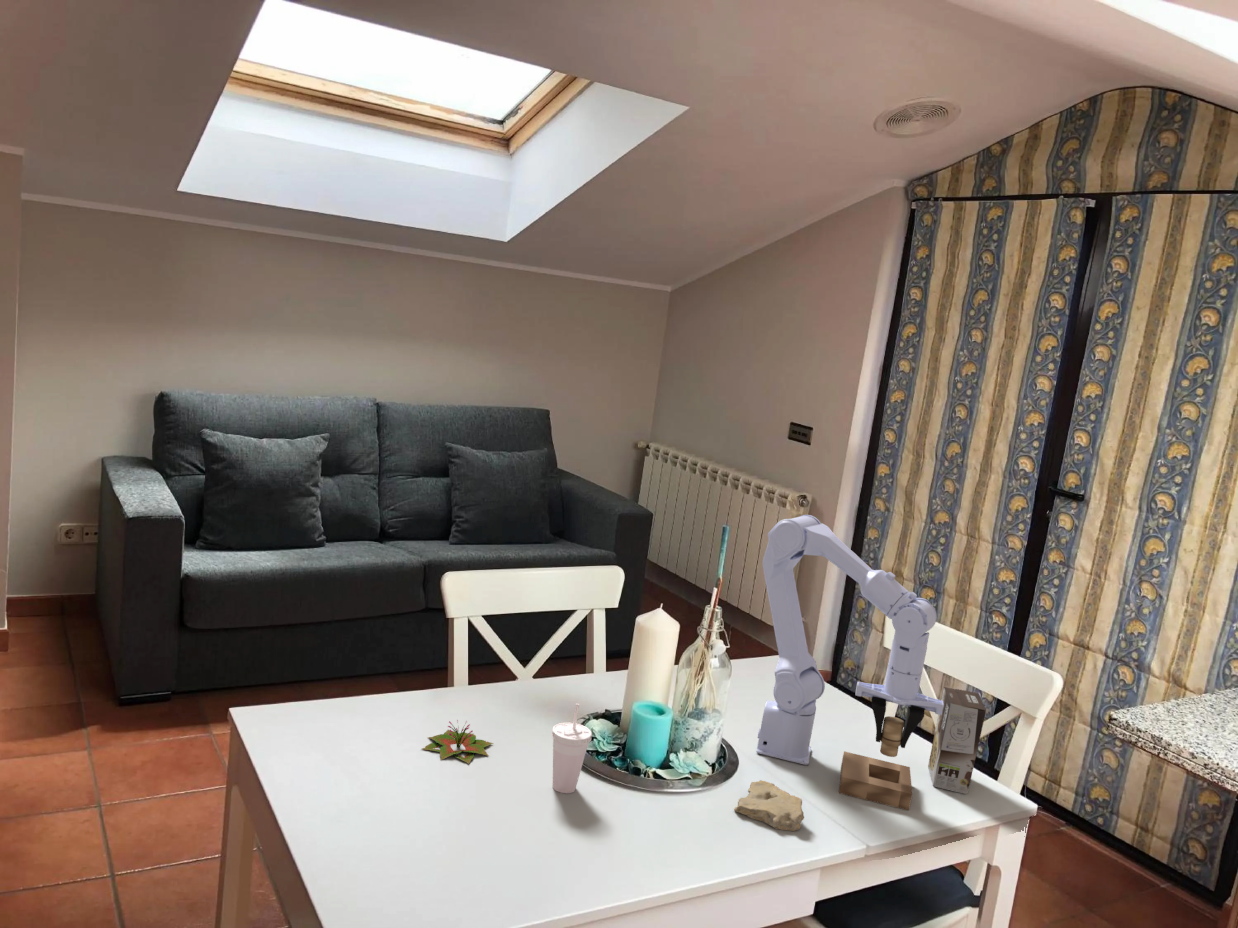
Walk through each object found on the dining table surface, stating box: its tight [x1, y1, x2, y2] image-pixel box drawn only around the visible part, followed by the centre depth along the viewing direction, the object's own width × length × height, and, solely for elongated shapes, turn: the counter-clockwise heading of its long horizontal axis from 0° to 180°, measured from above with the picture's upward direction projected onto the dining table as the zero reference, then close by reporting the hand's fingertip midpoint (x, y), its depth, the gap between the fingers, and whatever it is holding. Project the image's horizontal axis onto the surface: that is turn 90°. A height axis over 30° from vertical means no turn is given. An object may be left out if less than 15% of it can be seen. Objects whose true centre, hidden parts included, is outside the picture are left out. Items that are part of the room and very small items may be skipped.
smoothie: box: [551, 702, 593, 794], centre depth 155 cm, size 6×6×14 cm
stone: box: [733, 779, 805, 832], centre depth 158 cm, size 13×4×10 cm
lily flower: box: [421, 719, 494, 765], centre depth 164 cm, size 12×12×5 cm
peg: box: [879, 716, 905, 758], centre depth 170 cm, size 4×4×6 cm
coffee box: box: [927, 686, 987, 795], centre depth 179 cm, size 9×6×16 cm
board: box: [838, 751, 913, 811], centre depth 172 cm, size 12×11×3 cm
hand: (890, 742), depth 170 cm, fingers closed on peg, 3 cm apart
